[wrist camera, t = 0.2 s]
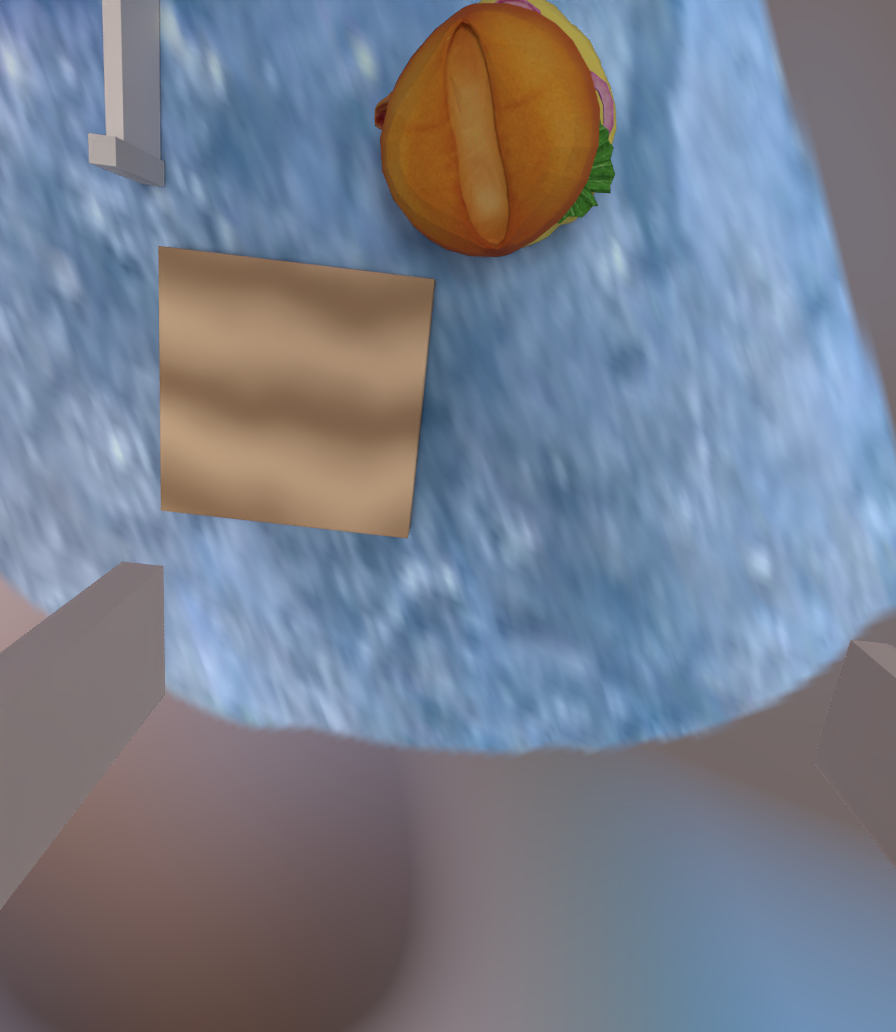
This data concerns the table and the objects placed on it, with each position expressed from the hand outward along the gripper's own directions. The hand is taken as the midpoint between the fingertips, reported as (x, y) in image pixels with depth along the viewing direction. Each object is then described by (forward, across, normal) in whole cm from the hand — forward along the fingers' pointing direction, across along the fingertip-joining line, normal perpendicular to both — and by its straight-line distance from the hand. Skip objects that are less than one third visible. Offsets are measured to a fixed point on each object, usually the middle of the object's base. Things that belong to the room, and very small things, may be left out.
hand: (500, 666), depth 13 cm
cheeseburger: (+27, 0, +15) cm, 31 cm away
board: (+27, -10, +1) cm, 29 cm away
